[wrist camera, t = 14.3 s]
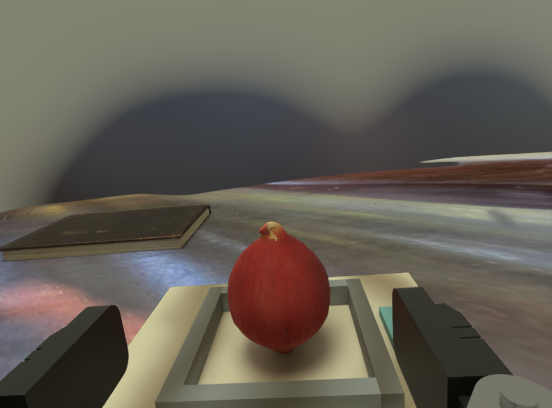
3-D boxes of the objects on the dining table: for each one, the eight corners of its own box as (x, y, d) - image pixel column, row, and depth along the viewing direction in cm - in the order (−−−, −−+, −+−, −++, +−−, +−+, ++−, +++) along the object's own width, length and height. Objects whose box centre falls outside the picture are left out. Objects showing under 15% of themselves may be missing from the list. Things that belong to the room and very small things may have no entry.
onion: (248, 321, 25) (235, 208, 23) (333, 322, 24) (327, 204, 22) (223, 383, 19) (202, 240, 17) (333, 388, 18) (324, 237, 16)
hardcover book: (182, 253, 43) (179, 235, 43) (1, 266, 45) (-4, 248, 44) (211, 216, 59) (209, 203, 58) (76, 226, 60) (73, 213, 60)
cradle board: (16, 533, 14) (-3, 482, 13) (172, 297, 31) (167, 271, 30) (570, 527, 12) (578, 469, 12) (408, 283, 30) (408, 255, 29)
